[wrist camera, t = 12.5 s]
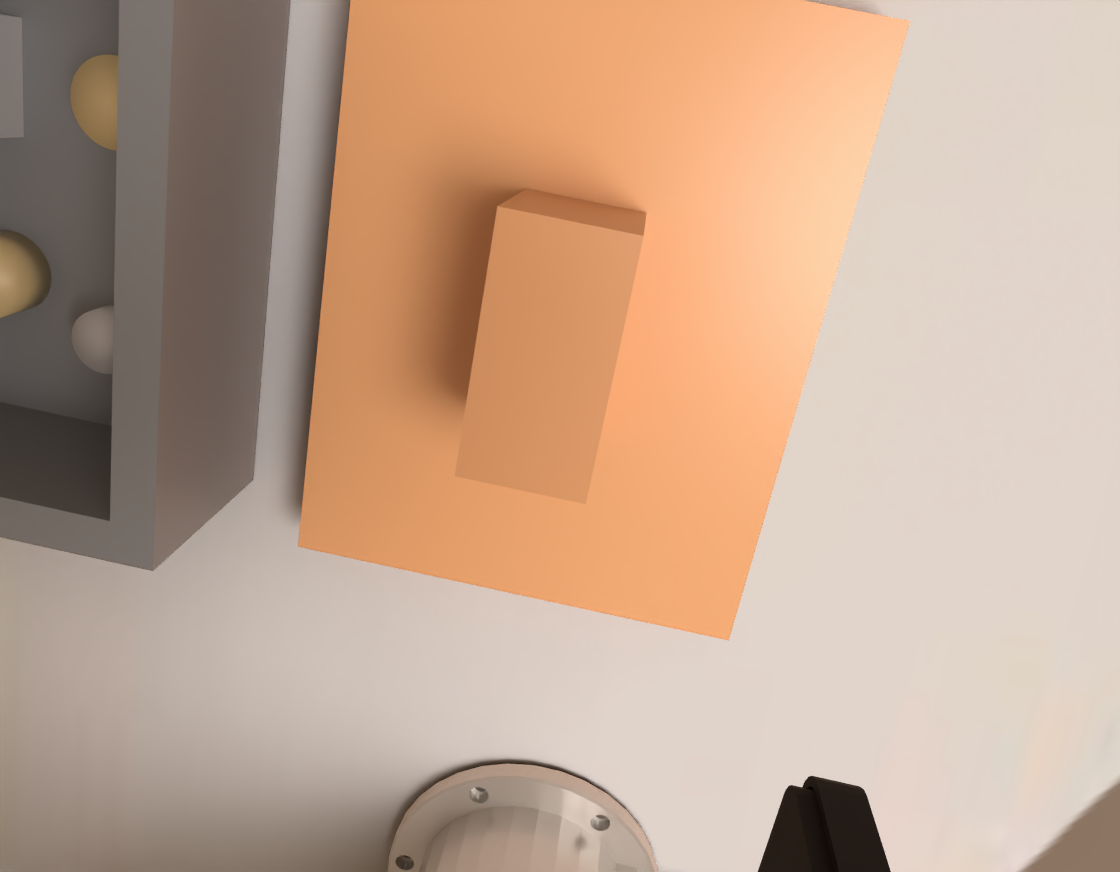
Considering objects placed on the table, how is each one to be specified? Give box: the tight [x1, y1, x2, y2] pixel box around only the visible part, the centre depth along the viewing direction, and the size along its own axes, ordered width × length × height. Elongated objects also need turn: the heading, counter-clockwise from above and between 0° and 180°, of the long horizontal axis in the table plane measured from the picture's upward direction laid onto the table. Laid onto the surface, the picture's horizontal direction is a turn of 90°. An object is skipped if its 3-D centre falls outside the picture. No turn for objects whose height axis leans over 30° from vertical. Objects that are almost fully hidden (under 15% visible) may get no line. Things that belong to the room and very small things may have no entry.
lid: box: [298, 0, 910, 640], centre depth 30 cm, size 17×22×9 cm
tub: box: [0, 0, 290, 571], centre depth 31 cm, size 15×20×8 cm
